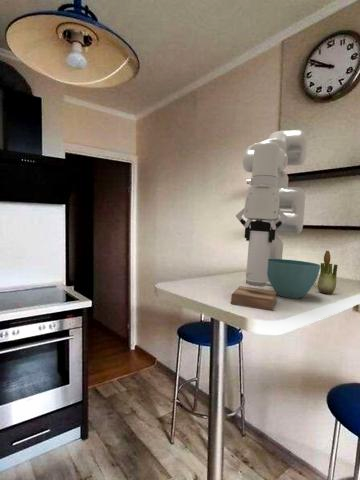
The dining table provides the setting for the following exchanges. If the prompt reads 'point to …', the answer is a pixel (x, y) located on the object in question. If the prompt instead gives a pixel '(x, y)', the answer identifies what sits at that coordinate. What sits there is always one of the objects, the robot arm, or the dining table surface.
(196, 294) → the dining table surface
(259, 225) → the travel mug
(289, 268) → the teal bowl
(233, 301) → the walnut board
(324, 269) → the fennel bulb
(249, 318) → the dining table surface
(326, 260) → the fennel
